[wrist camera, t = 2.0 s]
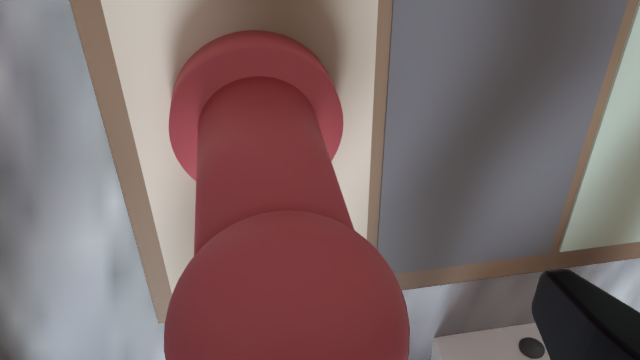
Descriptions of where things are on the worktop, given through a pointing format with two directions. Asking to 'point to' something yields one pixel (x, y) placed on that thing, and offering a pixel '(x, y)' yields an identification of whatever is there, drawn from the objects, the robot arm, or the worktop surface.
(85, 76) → the worktop surface
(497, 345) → the die
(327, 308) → the pawn
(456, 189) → the game board
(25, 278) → the worktop surface
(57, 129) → the worktop surface
